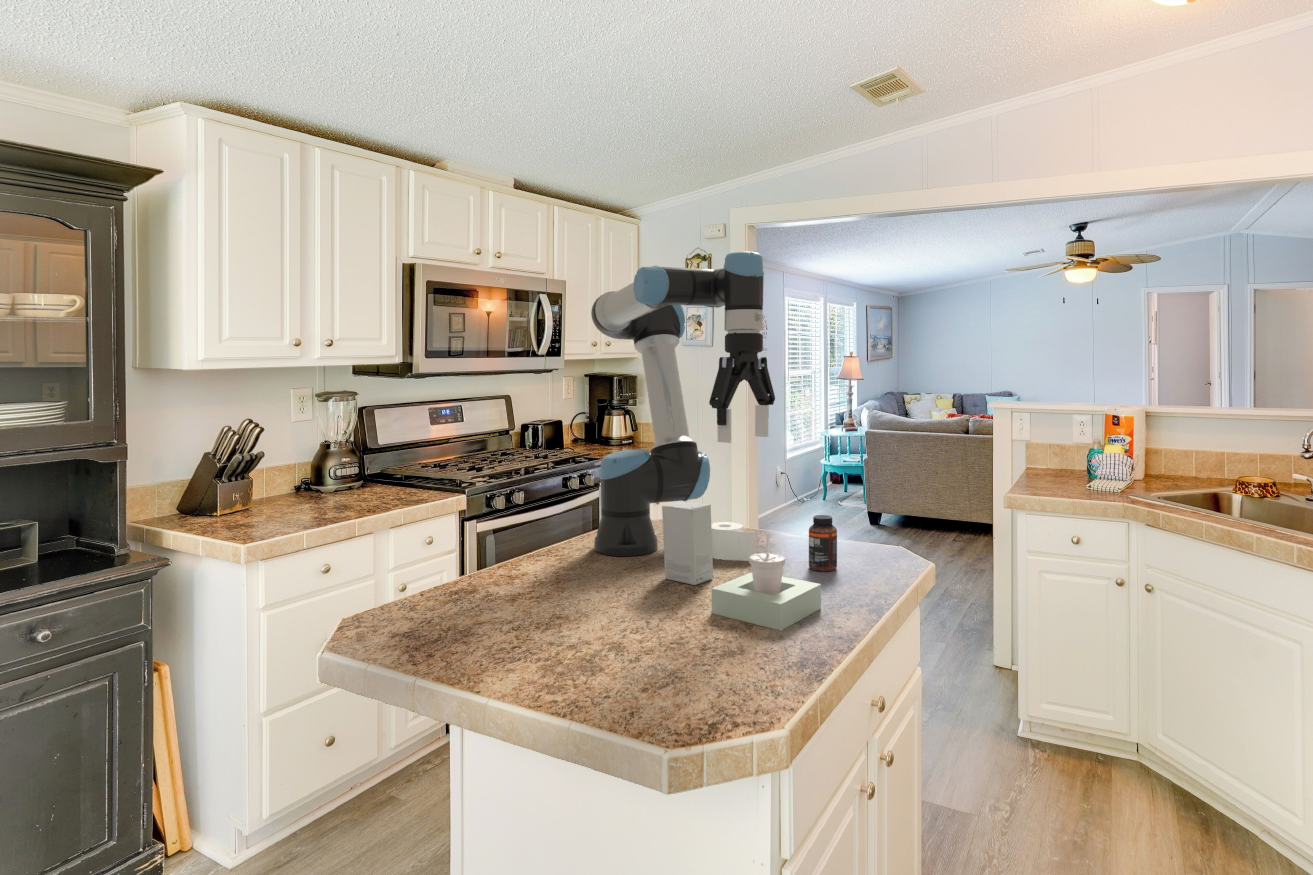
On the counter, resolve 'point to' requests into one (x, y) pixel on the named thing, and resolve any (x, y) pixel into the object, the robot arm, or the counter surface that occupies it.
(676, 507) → the skincare box
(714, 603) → the block
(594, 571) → the counter surface
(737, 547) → the toilet paper
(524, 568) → the counter surface
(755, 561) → the smoothie
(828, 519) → the supplement bottle
